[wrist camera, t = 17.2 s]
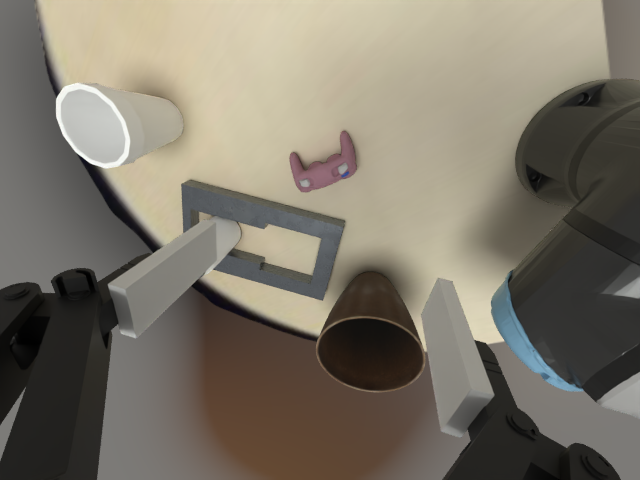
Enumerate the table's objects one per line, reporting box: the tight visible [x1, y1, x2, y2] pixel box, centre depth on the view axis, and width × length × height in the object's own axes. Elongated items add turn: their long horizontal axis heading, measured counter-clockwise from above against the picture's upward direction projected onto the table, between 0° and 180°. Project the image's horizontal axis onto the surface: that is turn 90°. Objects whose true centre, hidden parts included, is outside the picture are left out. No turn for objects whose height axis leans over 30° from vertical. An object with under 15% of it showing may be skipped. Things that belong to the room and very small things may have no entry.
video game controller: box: [290, 131, 357, 192], centre depth 41 cm, size 10×5×7 cm, turn 113°
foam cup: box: [56, 83, 184, 168], centre depth 39 cm, size 10×9×13 cm
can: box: [199, 216, 241, 278], centre depth 47 cm, size 6×6×12 cm
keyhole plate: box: [181, 180, 345, 301], centre depth 50 cm, size 28×16×2 cm, turn 78°
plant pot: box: [316, 272, 426, 392], centre depth 45 cm, size 15×15×16 cm
